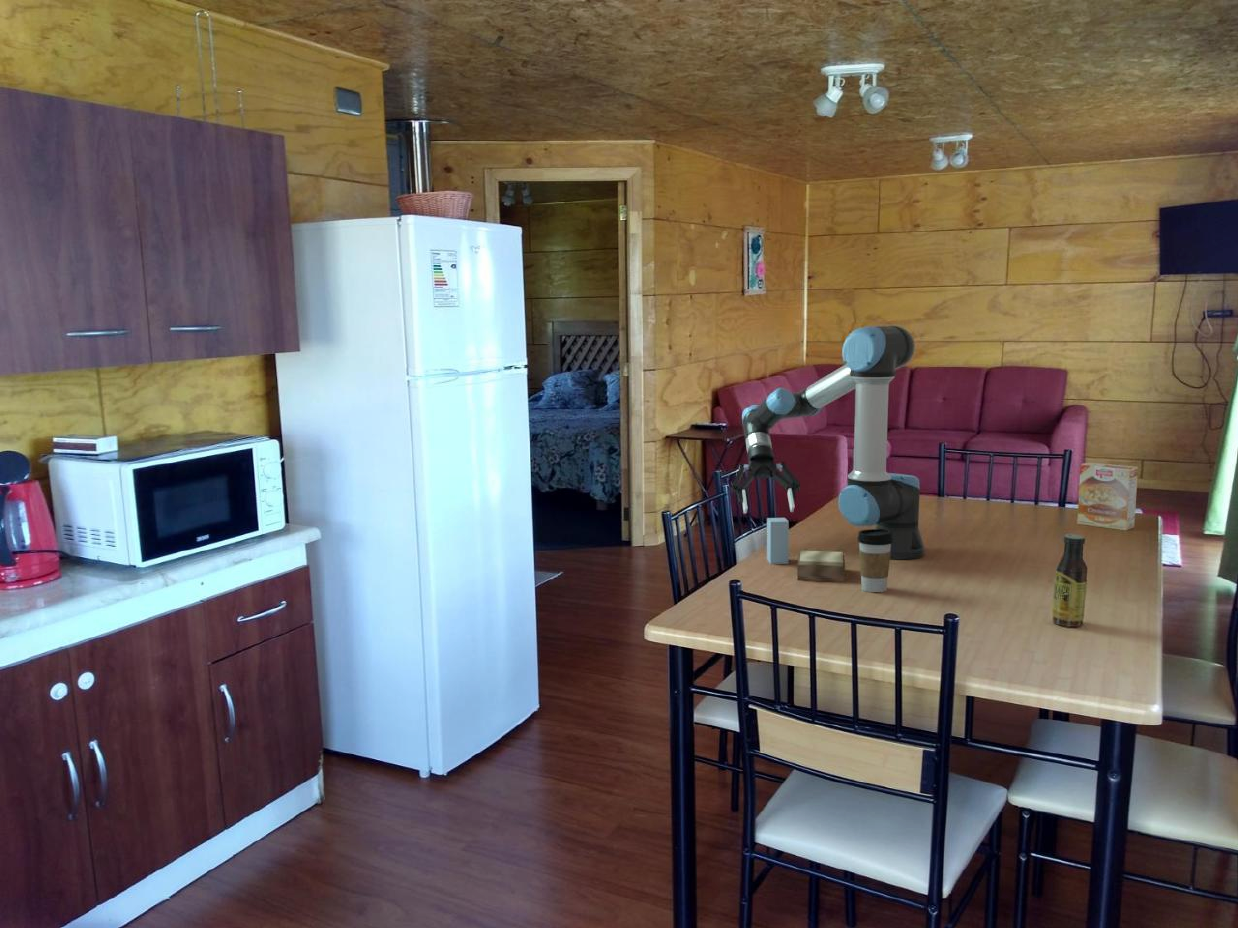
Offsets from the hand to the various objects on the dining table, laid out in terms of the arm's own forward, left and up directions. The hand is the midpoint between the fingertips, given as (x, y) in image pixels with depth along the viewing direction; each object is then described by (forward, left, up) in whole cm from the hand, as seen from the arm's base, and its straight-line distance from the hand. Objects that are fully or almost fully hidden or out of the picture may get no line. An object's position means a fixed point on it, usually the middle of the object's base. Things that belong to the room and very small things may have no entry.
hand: (769, 510), depth 268 cm
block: (-3, +9, -13) cm, 16 cm away
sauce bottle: (-68, +54, -13) cm, 87 cm away
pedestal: (-15, +21, -13) cm, 28 cm away
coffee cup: (-28, +33, -13) cm, 45 cm away
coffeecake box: (-103, -50, -13) cm, 115 cm away
